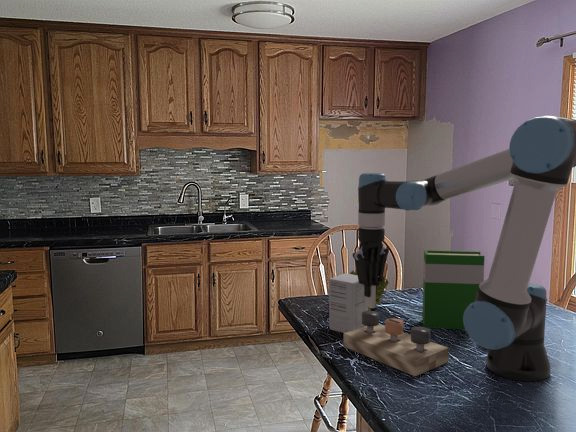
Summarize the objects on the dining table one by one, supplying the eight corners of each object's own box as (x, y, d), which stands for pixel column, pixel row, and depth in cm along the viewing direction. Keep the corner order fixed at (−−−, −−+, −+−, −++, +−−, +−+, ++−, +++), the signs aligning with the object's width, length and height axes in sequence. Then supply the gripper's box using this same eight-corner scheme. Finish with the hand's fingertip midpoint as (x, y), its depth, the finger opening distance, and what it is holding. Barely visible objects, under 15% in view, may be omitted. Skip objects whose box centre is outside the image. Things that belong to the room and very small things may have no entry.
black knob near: (433, 355, 136) (434, 330, 135) (421, 360, 133) (422, 334, 132) (418, 350, 140) (418, 325, 139) (406, 354, 137) (407, 329, 136)
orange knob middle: (406, 345, 143) (407, 320, 142) (394, 350, 140) (395, 324, 139) (392, 340, 147) (393, 316, 146) (381, 344, 144) (381, 320, 143)
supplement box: (344, 321, 172) (344, 272, 169) (368, 327, 166) (369, 276, 164) (328, 329, 164) (328, 278, 162) (352, 335, 158) (353, 282, 156)
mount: (448, 362, 138) (448, 347, 137) (415, 376, 129) (415, 361, 129) (376, 335, 158) (376, 323, 158) (343, 346, 150) (343, 333, 149)
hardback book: (477, 322, 169) (479, 251, 166) (481, 330, 162) (484, 256, 159) (422, 320, 172) (424, 250, 169) (424, 327, 165) (426, 254, 162)
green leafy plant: (332, 289, 195) (362, 260, 197) (361, 319, 192) (391, 289, 194) (336, 285, 177) (369, 253, 179) (368, 318, 174) (401, 286, 176)
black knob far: (382, 336, 150) (382, 313, 149) (370, 340, 147) (370, 317, 146) (369, 332, 154) (369, 309, 153) (358, 336, 151) (358, 313, 150)
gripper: (377, 223, 153) (375, 299, 156) (345, 227, 145) (345, 308, 148) (396, 226, 148) (395, 305, 151) (365, 231, 140) (364, 314, 143)
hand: (370, 306), depth 150 cm, fingers closed
